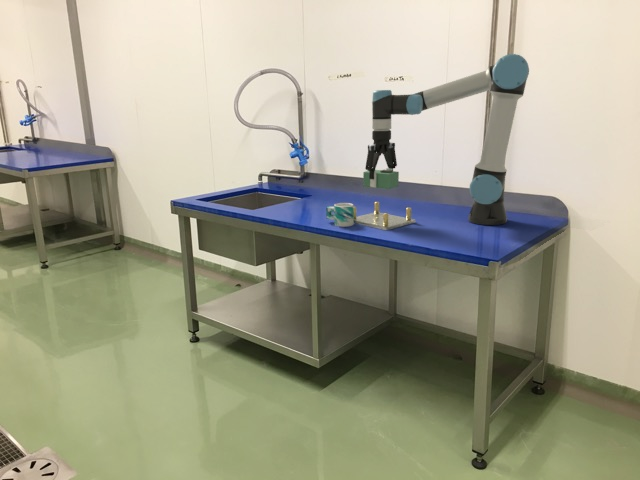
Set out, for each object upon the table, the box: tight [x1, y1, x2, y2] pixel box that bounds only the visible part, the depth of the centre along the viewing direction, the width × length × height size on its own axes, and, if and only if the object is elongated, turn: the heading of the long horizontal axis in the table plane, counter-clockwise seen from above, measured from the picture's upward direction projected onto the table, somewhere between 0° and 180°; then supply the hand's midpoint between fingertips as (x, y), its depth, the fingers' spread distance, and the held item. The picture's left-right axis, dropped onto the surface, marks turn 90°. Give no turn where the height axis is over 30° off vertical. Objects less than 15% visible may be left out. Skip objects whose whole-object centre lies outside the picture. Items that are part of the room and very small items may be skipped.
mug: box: [325, 202, 355, 228], centre depth 222 cm, size 8×12×8 cm
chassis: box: [353, 201, 416, 231], centre depth 223 cm, size 22×18×6 cm
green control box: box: [362, 169, 400, 190], centre depth 219 cm, size 12×8×7 cm, turn 55°
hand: (381, 185), depth 220 cm, fingers closed on green control box, 9 cm apart
